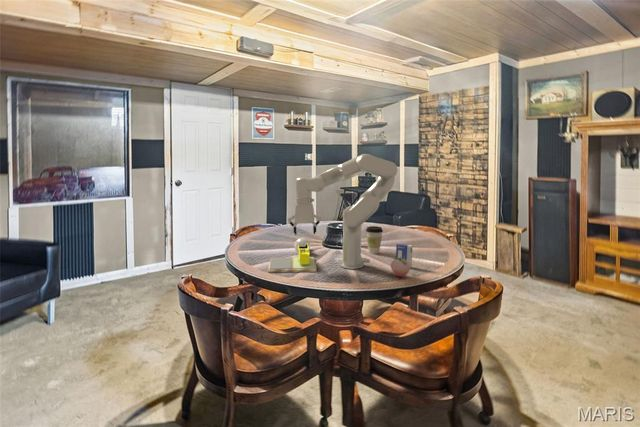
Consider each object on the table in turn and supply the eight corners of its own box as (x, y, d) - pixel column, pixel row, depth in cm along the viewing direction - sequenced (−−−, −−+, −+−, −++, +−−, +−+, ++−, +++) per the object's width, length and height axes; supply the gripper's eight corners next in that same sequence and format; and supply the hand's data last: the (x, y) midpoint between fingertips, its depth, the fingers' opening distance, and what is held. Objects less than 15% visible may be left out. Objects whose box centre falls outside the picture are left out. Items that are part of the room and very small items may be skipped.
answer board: (314, 259, 218) (314, 256, 218) (316, 271, 196) (316, 268, 196) (270, 259, 216) (270, 257, 216) (268, 272, 195) (268, 269, 194)
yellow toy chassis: (310, 265, 201) (310, 249, 199) (299, 266, 200) (299, 250, 199) (307, 257, 216) (307, 242, 215) (297, 257, 216) (297, 242, 214)
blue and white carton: (395, 266, 206) (396, 243, 204) (397, 264, 208) (398, 242, 206) (410, 268, 202) (411, 245, 200) (411, 267, 204) (412, 244, 202)
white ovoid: (299, 258, 225) (302, 254, 240) (312, 248, 224) (315, 245, 239) (289, 245, 225) (293, 241, 240) (303, 235, 224) (306, 232, 239)
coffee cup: (363, 250, 236) (364, 226, 234) (379, 250, 238) (380, 225, 235) (367, 255, 227) (368, 229, 224) (384, 254, 228) (384, 229, 225)
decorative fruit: (413, 277, 188) (414, 257, 186) (401, 281, 183) (402, 260, 181) (399, 272, 195) (400, 253, 194) (387, 275, 191) (388, 255, 189)
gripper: (320, 199, 205) (321, 231, 208) (287, 201, 204) (288, 233, 207) (321, 201, 198) (322, 235, 201) (286, 203, 197) (288, 236, 200)
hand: (305, 234), depth 204 cm, fingers open, 9 cm apart
